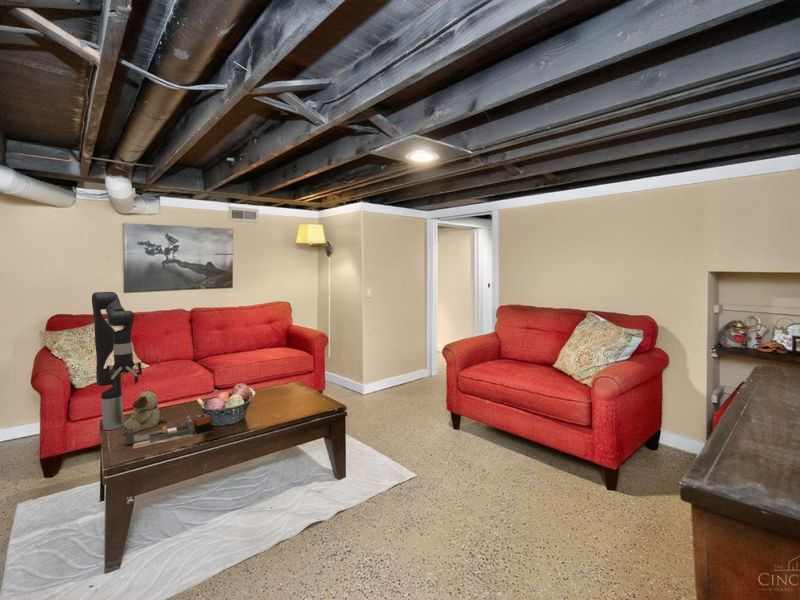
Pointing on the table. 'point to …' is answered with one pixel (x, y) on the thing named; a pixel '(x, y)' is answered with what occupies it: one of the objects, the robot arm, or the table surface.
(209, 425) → the battery
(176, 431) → the marker
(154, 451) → the table surface
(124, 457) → the table surface
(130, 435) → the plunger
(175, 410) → the table surface
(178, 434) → the gauge board
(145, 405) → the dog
